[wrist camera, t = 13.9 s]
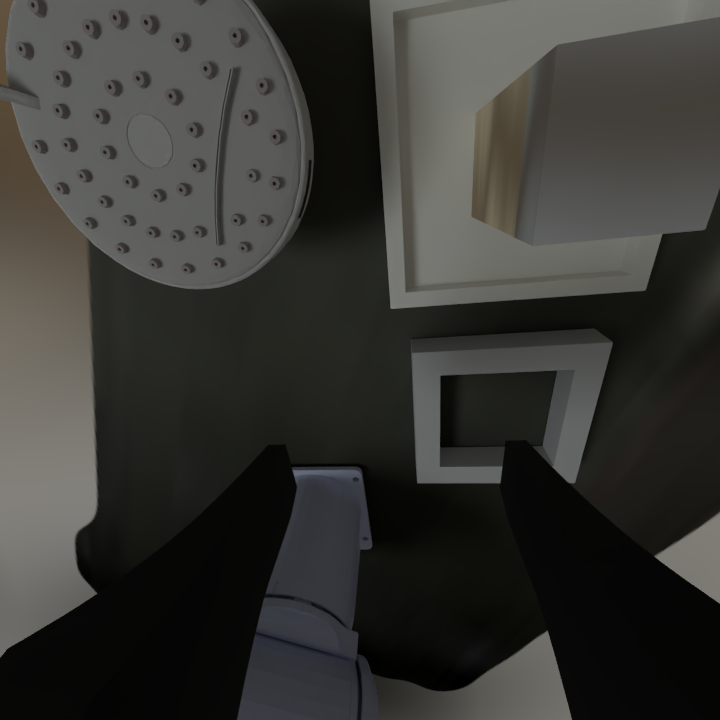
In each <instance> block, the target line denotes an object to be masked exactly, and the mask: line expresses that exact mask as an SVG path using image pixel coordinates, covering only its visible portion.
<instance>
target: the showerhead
mask: <svg viewBox="0 0 720 720" xmlns="http://www.w3.org/2000/svg"><path fill="white" fill-rule="evenodd" d="M6 68H7V76H8V84H9V87H7V86H4V85H0V99H2V100H6V101H10V102H11V103H12V107H13V110H14V114H15V117H16V120H17V124H18V127H19V131H20V134H21V137H22V139H23V141H24V144H25V146H26V148H27V151H28V153H29V155H30V157H31V160H32V162H33V164H34V166H35V169H36V170H37V172H38V174H39V175H40V177H41V179H42V180H43V182H44V184H45V185H46V187H47V189H48V190H49V192H50V194H51V195H52V197H53V199H54V200H55V201H56V202H57V204H58V205H59V206H60V207H61V209H62V210H63V211H64V213H65V214H66V215H67V216H68V217H69V219H70V220H71V221H72V223H73V224H74V225H75V226H76V227H77V228H78V229H79V230H80V231H81V232H82V233H83V234H84V235H85V236H86V237H87V238H88V239H89V240H90V241H91V242H92V243H93V244H94V245H95V246H97V247H98V248H99V249H101V250H102V251H103V252H104V253H106V254H107V255H108V256H110V257H111V258H112V259H114V260H115V261H117V262H118V263H120V264H121V265H123V266H125V267H126V268H128V269H129V270H131V271H133V272H135V273H137V274H139V275H142V276H144V277H146V278H148V279H151V280H153V281H156V282H159V283H162V284H166V285H170V286H174V287H180V288H187V289H211V288H218V287H222V286H226V285H230V284H233V283H236V282H238V281H241V280H243V279H245V278H247V277H249V276H250V275H252V274H253V273H255V272H256V271H258V270H259V269H261V268H262V267H263V266H264V265H266V264H267V263H268V262H269V261H271V260H272V259H273V258H274V257H275V256H276V255H278V253H279V252H280V251H281V250H282V249H283V248H284V247H285V245H286V244H287V243H288V242H289V240H290V239H291V238H292V236H293V235H294V233H295V231H296V230H297V228H298V226H299V223H300V221H301V219H302V217H303V214H304V211H305V209H306V206H307V203H308V199H309V195H310V191H311V184H312V177H313V165H314V145H313V136H312V128H311V122H310V116H309V110H308V107H307V103H306V99H305V95H304V92H303V90H302V87H301V84H300V81H299V79H298V76H297V74H296V71H295V69H294V67H293V64H292V62H291V59H290V58H289V56H288V54H287V52H286V50H285V48H284V46H283V44H282V43H281V41H280V40H279V38H278V37H277V35H276V33H275V32H274V30H273V29H272V27H271V26H270V24H269V23H268V21H267V20H266V19H265V17H264V16H263V14H262V13H261V11H260V10H259V9H258V7H257V6H256V5H255V3H254V2H253V1H252V0H13V3H12V6H11V9H10V14H9V23H8V30H7V39H6Z"/></svg>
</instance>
